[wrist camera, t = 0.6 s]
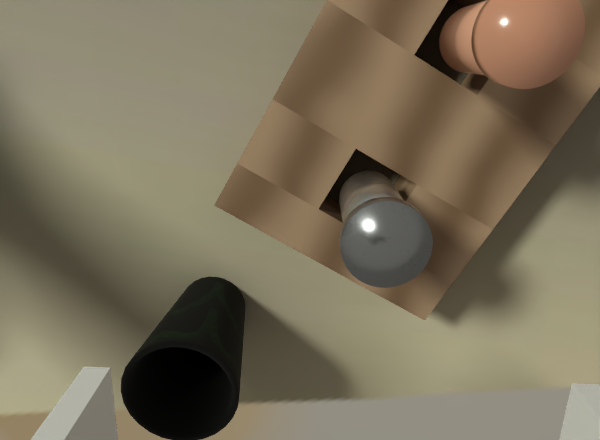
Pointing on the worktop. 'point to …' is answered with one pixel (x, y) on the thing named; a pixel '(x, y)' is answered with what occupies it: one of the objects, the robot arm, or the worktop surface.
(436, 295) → the block
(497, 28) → the terracotta plug
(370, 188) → the grey plug
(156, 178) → the worktop surface
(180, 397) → the cup
